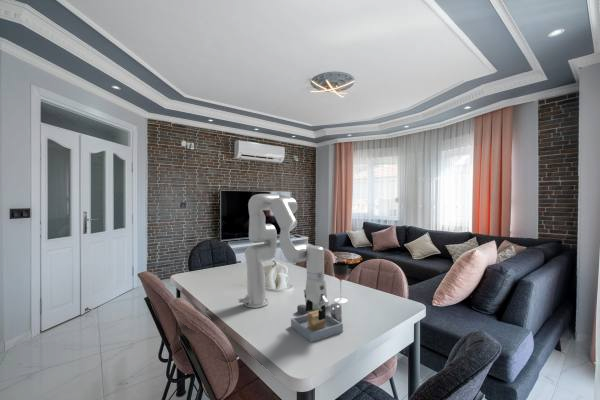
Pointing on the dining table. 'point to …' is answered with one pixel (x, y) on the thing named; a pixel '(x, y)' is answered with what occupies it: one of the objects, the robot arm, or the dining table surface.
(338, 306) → the metal cylinder
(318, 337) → the tray
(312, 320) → the oak block
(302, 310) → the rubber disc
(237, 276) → the dining table surface
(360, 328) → the dining table surface
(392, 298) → the dining table surface
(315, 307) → the sage block
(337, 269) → the wineglass
